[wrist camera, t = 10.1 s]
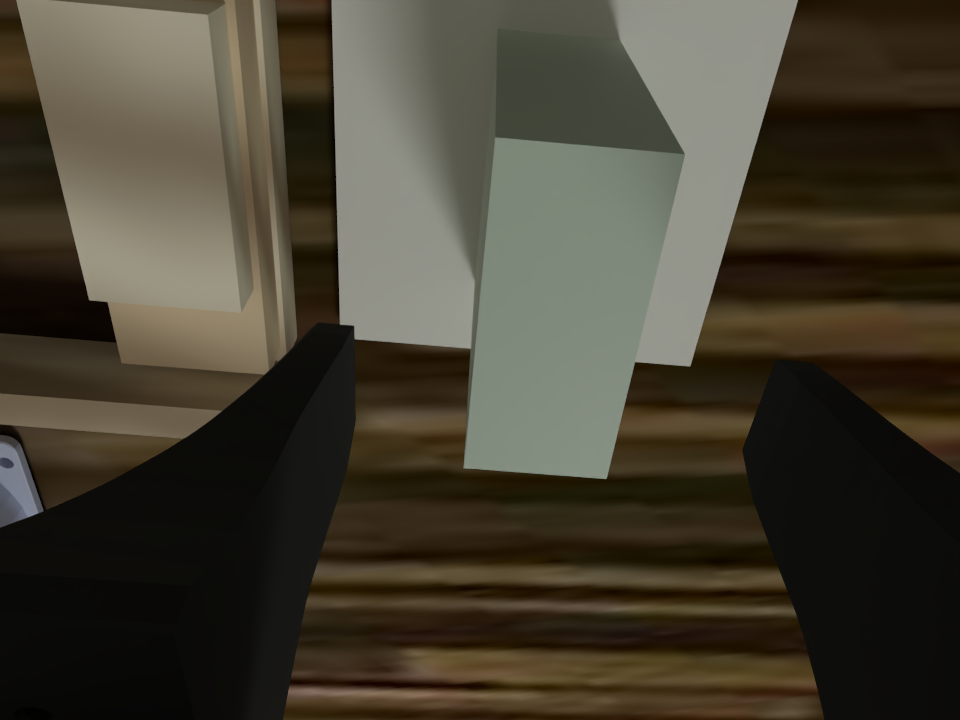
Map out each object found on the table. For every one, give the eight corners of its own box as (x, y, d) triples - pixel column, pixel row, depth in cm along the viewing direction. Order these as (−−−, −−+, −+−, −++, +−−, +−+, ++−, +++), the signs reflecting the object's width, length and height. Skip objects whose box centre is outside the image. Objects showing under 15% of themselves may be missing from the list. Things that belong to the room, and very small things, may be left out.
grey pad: (686, 355, 24) (689, 366, 24) (343, 327, 24) (340, 337, 24) (795, -23, 18) (802, -18, 18) (334, -67, 18) (329, -64, 17)
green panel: (575, 289, 23) (606, 478, 16) (474, 281, 22) (463, 467, 16) (620, 40, 19) (684, 154, 12) (497, 28, 18) (495, 137, 12)
